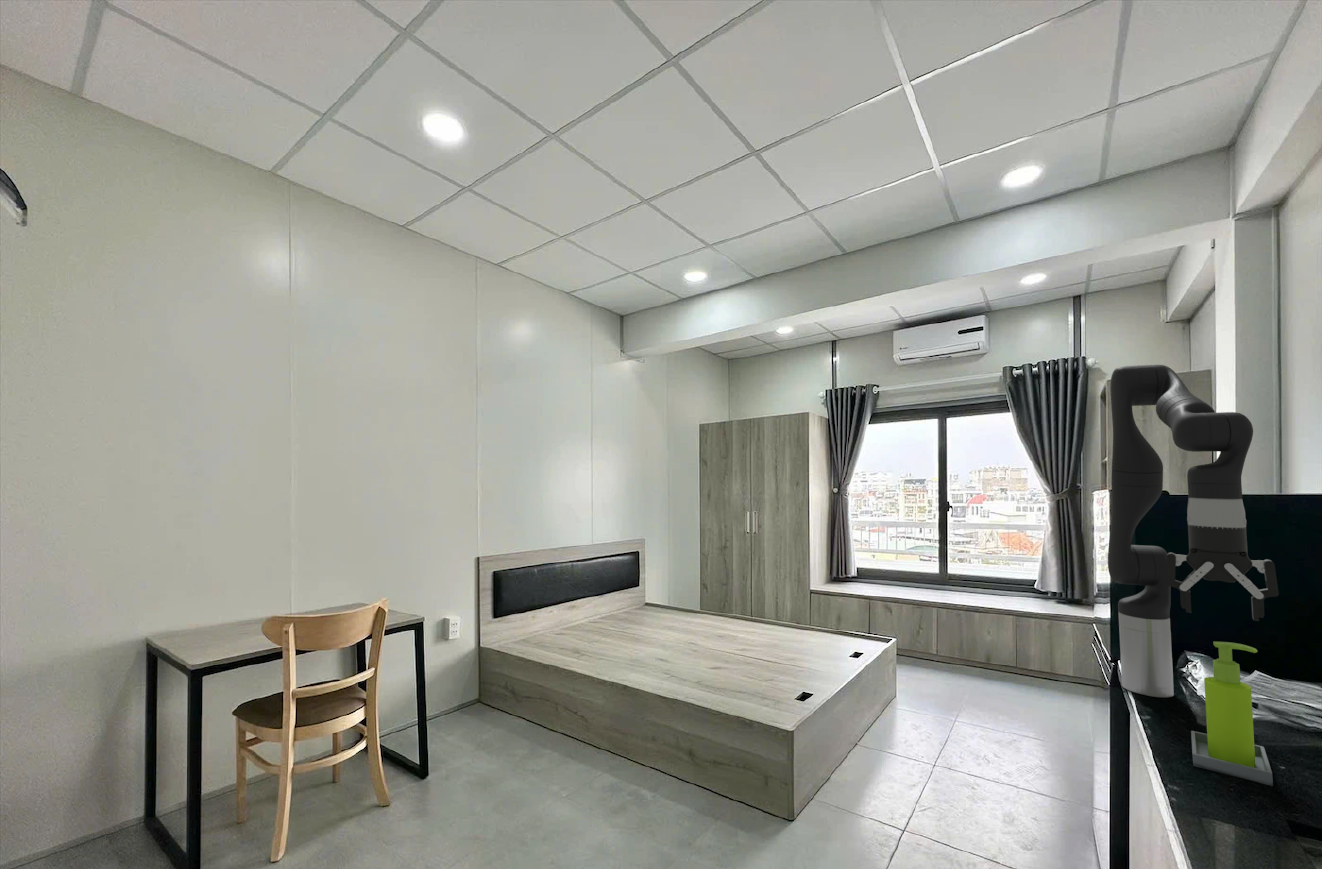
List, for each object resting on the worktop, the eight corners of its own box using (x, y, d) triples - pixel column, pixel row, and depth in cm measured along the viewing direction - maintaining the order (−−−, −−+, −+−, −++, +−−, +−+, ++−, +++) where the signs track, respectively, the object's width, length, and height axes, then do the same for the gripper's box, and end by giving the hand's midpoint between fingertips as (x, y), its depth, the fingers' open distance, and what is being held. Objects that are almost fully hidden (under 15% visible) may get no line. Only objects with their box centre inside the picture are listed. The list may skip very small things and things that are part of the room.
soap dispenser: (1268, 773, 96) (1260, 651, 97) (1211, 761, 100) (1204, 643, 101) (1260, 759, 101) (1252, 642, 102) (1205, 748, 105) (1199, 636, 106)
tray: (1191, 741, 108) (1191, 730, 108) (1264, 758, 102) (1263, 746, 102) (1193, 766, 99) (1192, 754, 100) (1273, 786, 93) (1272, 773, 93)
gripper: (1271, 524, 101) (1276, 618, 100) (1163, 519, 111) (1167, 605, 110) (1276, 528, 96) (1282, 627, 95) (1163, 522, 105) (1167, 613, 104)
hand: (1221, 615), depth 102 cm, fingers open, 8 cm apart
